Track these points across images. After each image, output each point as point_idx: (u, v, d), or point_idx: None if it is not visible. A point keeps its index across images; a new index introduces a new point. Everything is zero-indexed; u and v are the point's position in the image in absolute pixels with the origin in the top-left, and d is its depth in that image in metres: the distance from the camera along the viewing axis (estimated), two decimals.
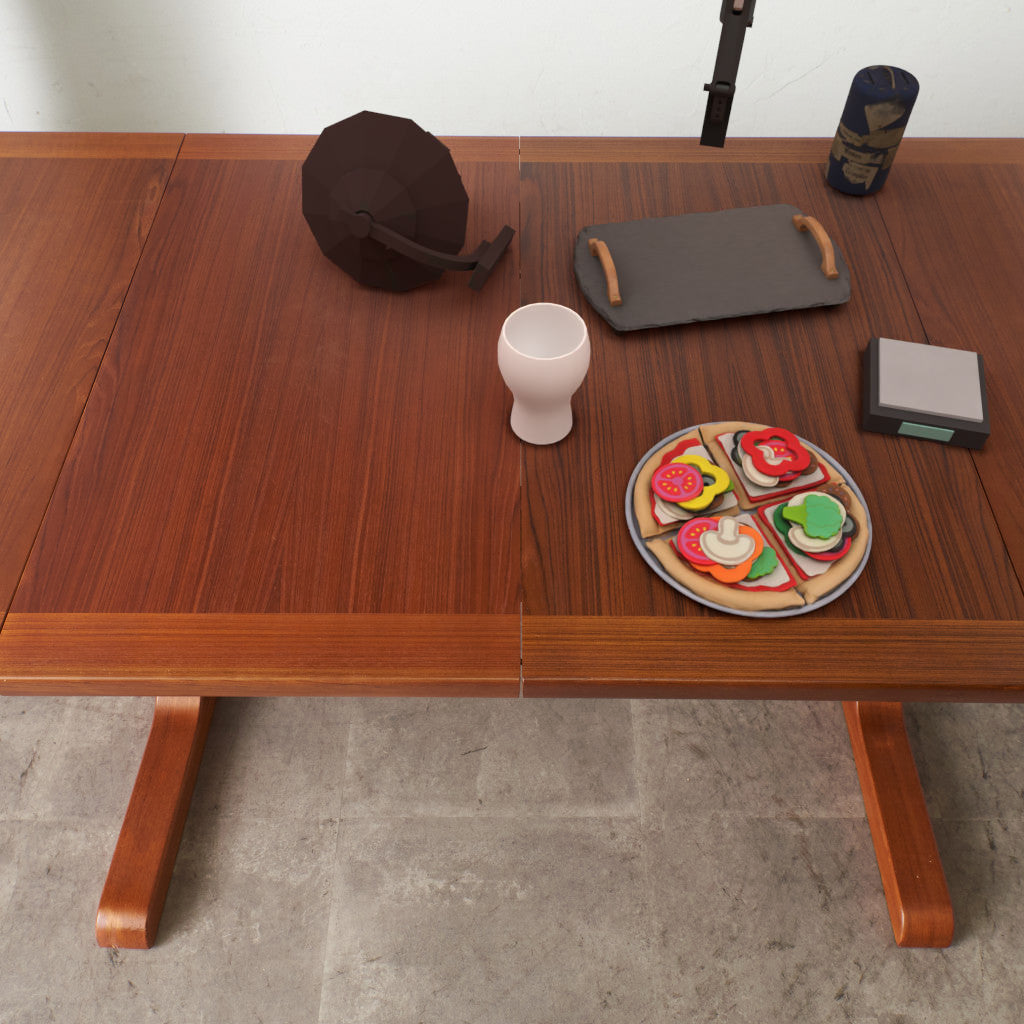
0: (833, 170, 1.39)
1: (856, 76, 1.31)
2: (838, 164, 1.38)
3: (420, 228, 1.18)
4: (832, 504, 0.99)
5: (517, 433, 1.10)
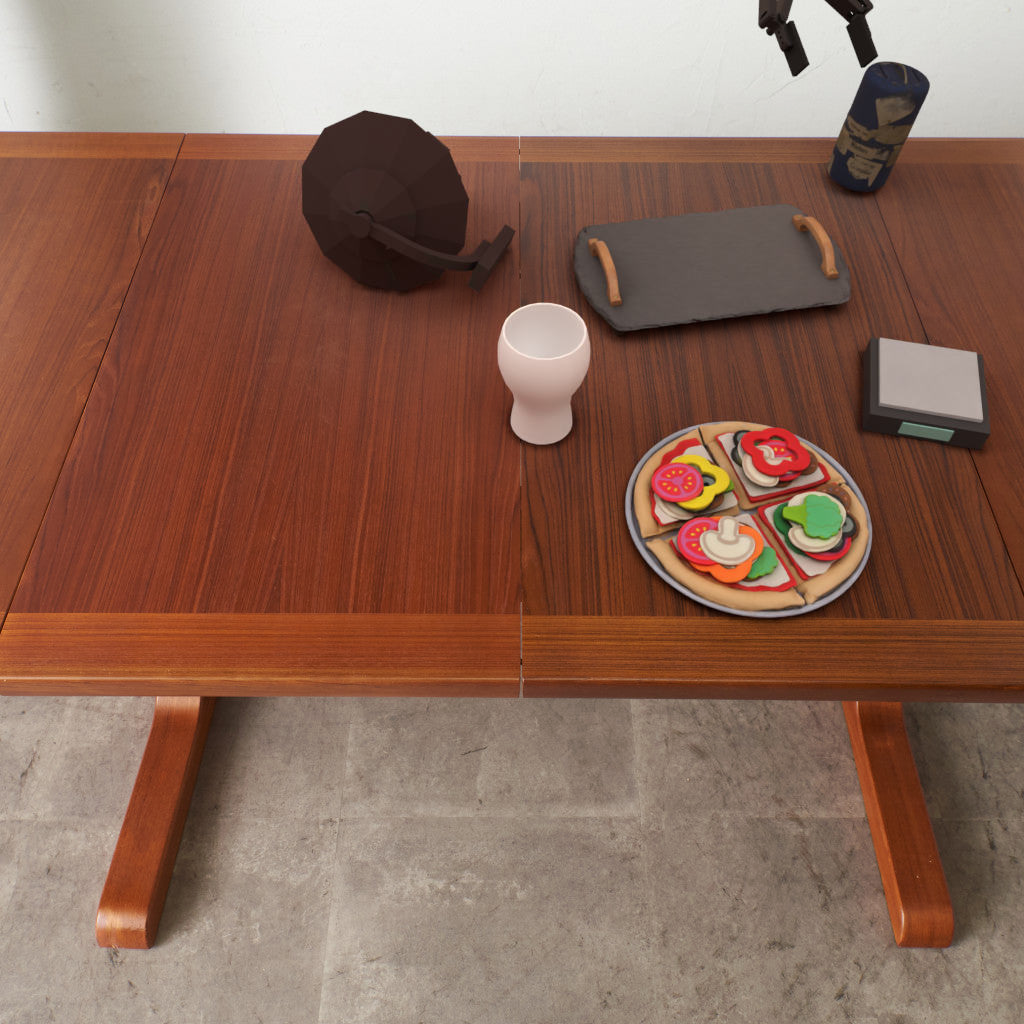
0: (837, 164, 1.39)
1: (868, 69, 1.30)
2: (843, 158, 1.37)
3: (420, 228, 1.18)
4: (832, 504, 0.99)
5: (517, 433, 1.10)
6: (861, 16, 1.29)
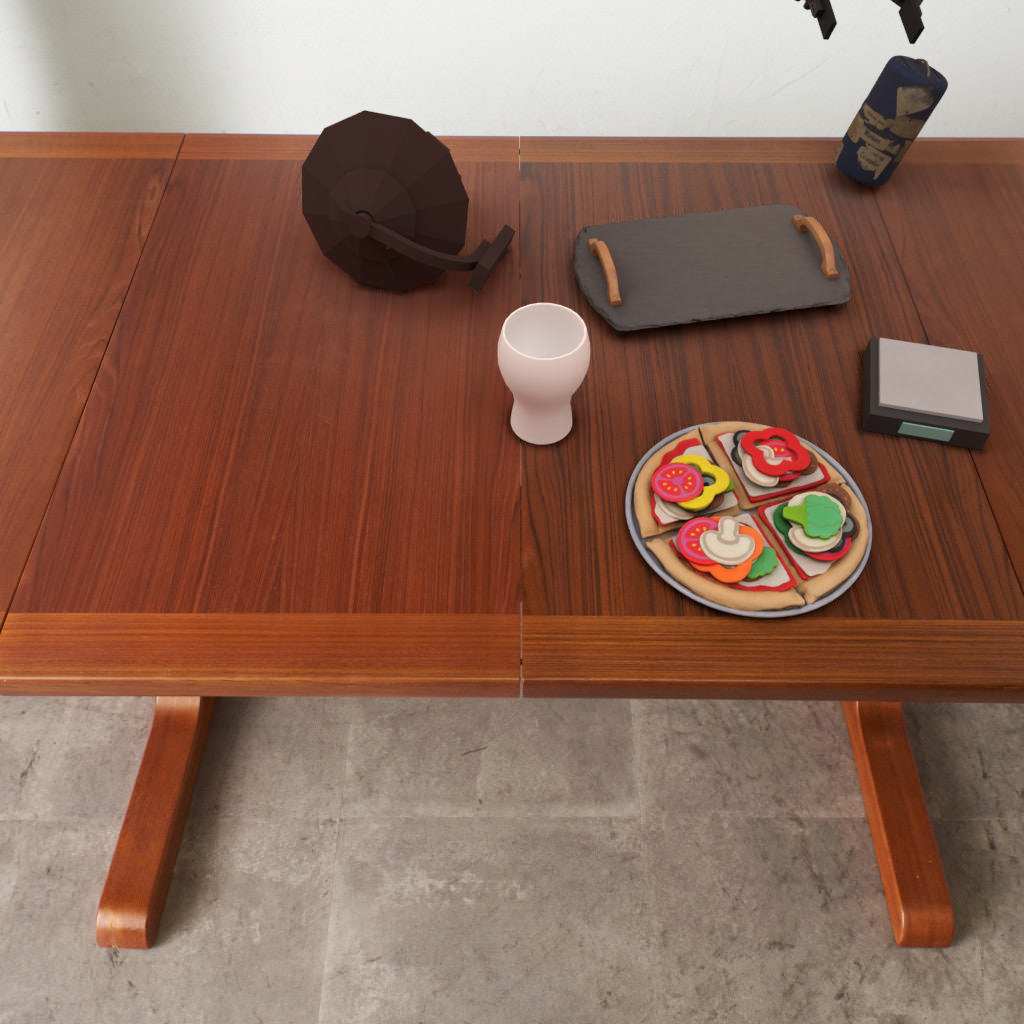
0: (846, 153, 1.38)
1: (892, 59, 1.30)
2: (853, 146, 1.36)
3: (420, 228, 1.18)
4: (832, 504, 0.99)
5: (517, 433, 1.10)
6: None
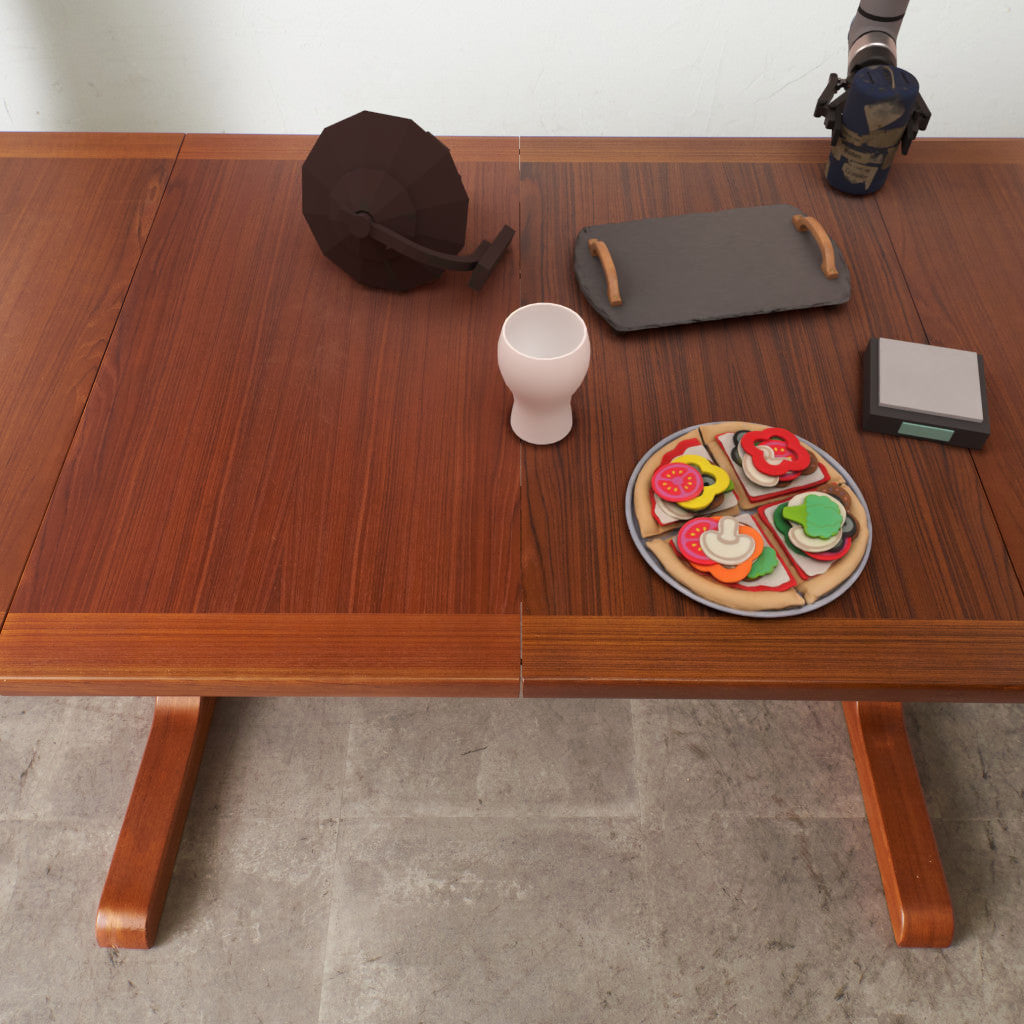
0: (832, 170, 1.39)
1: (856, 76, 1.31)
2: (838, 164, 1.38)
3: (420, 228, 1.18)
4: (832, 504, 0.99)
5: (517, 433, 1.10)
6: None
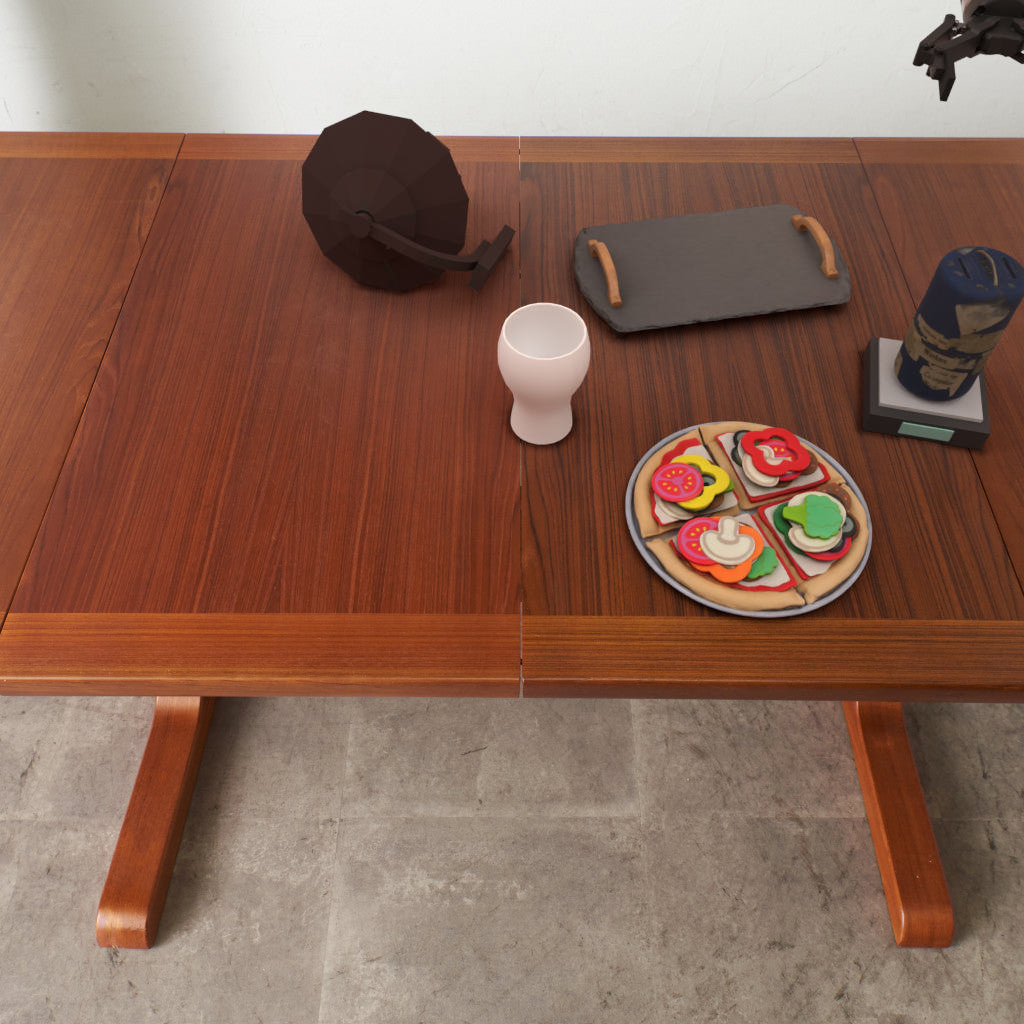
0: (906, 370, 1.08)
1: (944, 264, 0.99)
2: (914, 365, 1.06)
3: (420, 228, 1.18)
4: (832, 504, 0.99)
5: (517, 433, 1.10)
6: None
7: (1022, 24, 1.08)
